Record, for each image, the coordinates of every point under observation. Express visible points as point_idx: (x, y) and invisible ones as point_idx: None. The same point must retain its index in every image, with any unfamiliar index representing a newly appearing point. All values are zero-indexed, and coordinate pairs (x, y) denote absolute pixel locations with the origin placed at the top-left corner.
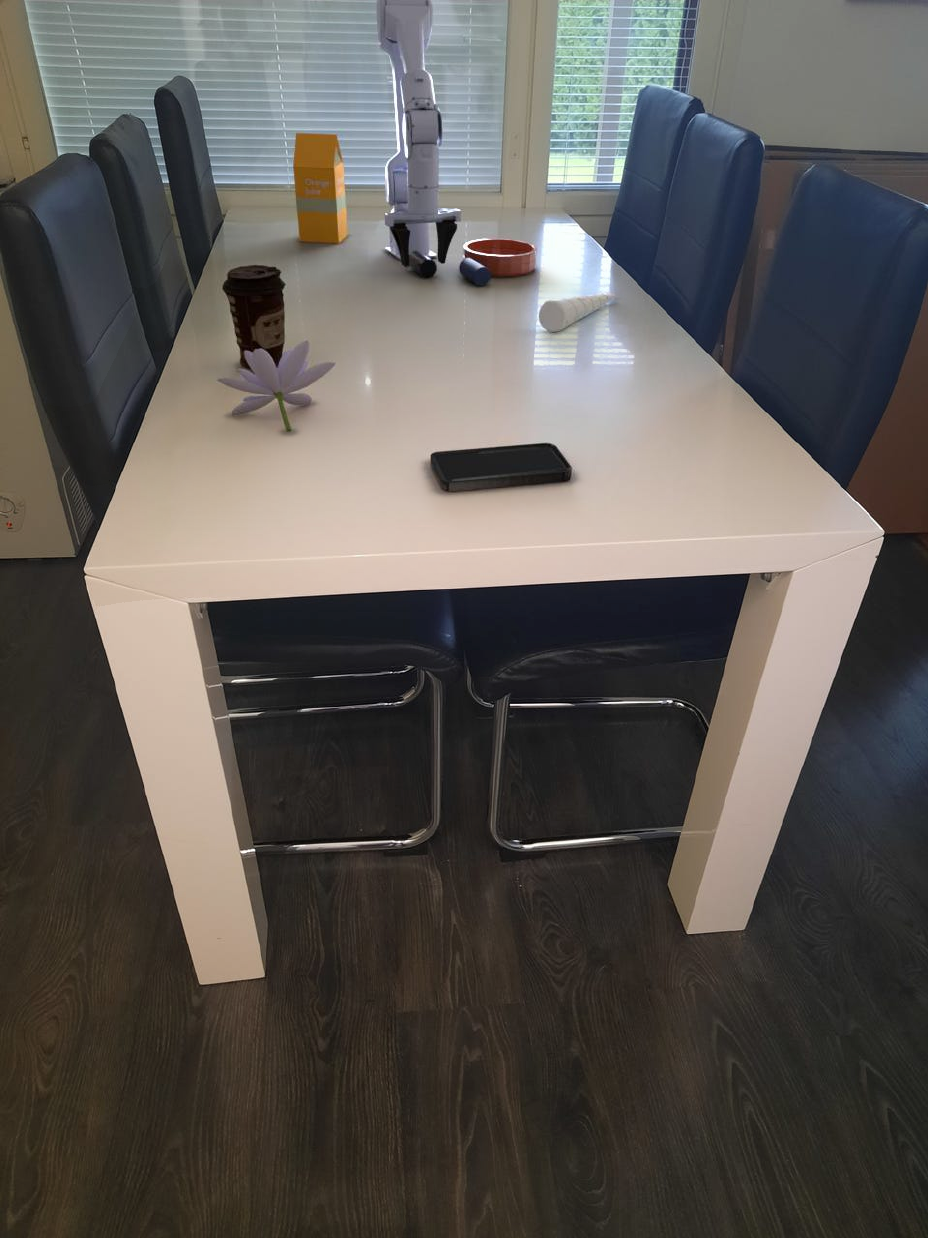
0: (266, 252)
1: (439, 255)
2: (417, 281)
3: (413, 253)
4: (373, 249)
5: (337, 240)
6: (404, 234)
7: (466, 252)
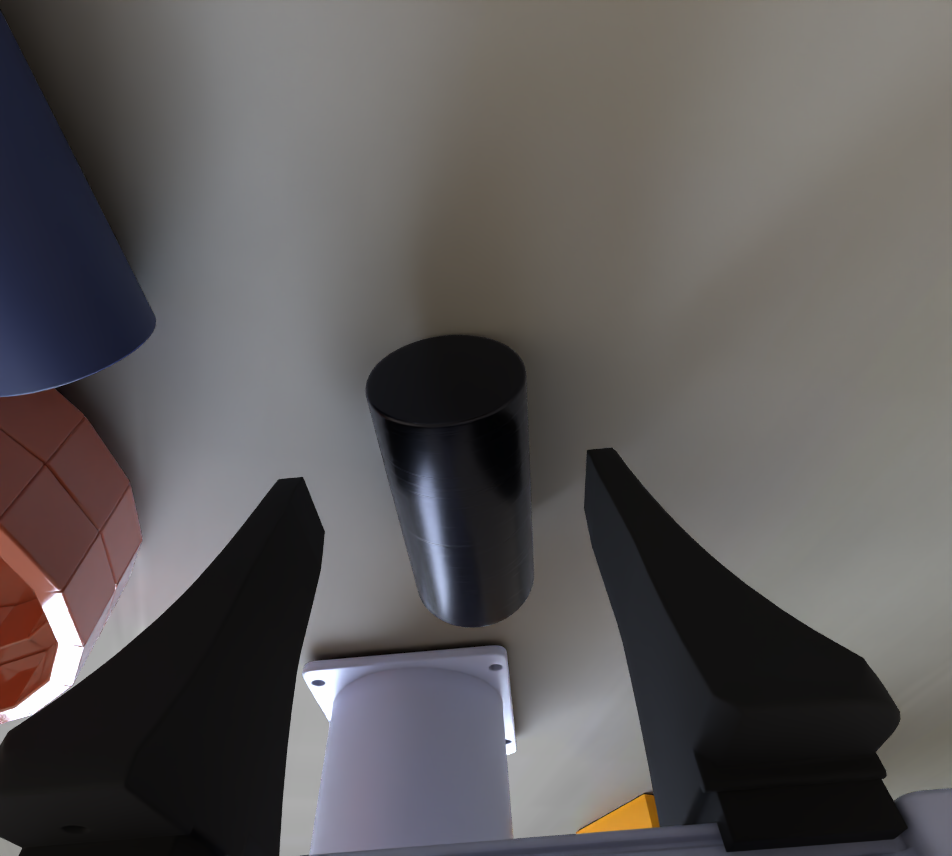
0: (942, 751)
1: (307, 550)
2: (566, 262)
3: (504, 592)
4: (556, 749)
5: (651, 804)
6: (778, 654)
7: (52, 542)
